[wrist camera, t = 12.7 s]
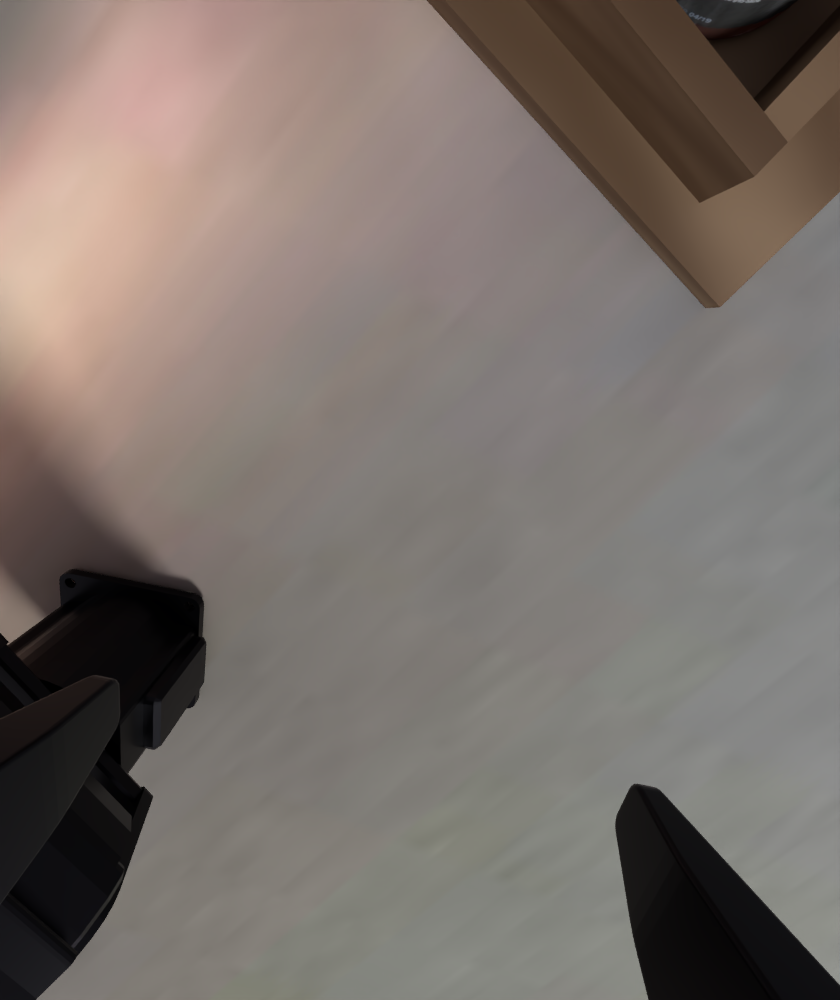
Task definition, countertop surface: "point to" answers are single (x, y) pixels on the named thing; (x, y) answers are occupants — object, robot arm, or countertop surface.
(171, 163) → the countertop surface
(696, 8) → the supplement bottle
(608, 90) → the bottle stand
